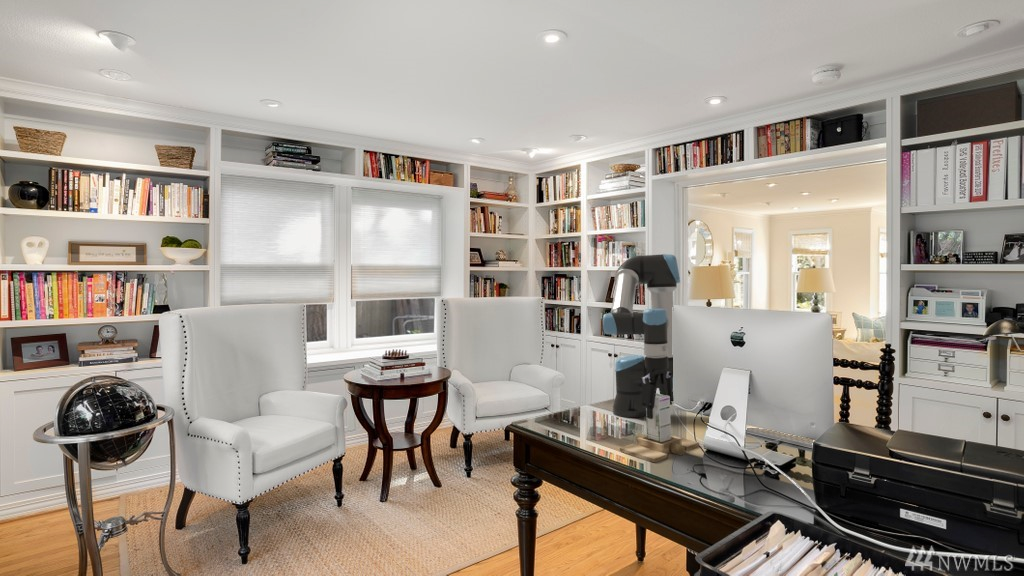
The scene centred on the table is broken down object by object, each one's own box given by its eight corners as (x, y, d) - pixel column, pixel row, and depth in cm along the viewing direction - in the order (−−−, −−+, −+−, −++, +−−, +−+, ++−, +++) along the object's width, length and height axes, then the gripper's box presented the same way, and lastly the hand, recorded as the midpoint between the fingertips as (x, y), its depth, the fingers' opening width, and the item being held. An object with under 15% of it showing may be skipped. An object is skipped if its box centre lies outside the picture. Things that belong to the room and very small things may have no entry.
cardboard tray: (615, 450, 177) (615, 439, 177) (660, 435, 190) (659, 425, 190) (658, 464, 163) (658, 452, 163) (703, 447, 176) (703, 436, 176)
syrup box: (672, 439, 176) (670, 395, 175) (659, 442, 172) (658, 398, 172) (658, 435, 180) (657, 392, 180) (646, 438, 177) (644, 395, 177)
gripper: (646, 360, 167) (648, 434, 168) (683, 353, 178) (686, 422, 179) (627, 358, 173) (630, 429, 174) (665, 351, 184) (667, 418, 185)
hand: (658, 425), depth 176 cm, fingers closed on syrup box, 6 cm apart
